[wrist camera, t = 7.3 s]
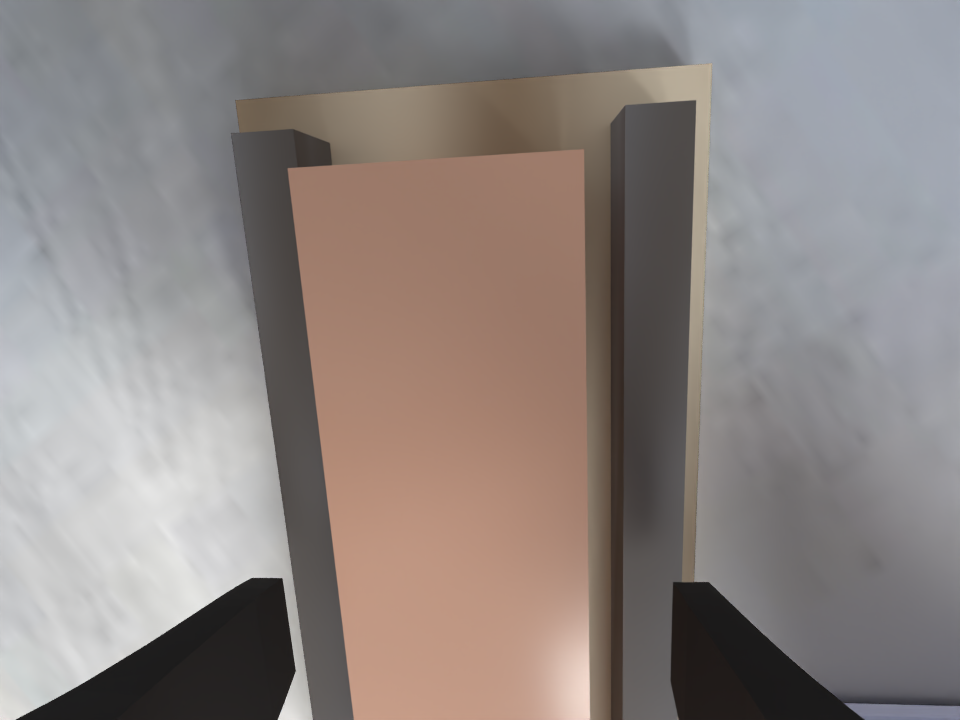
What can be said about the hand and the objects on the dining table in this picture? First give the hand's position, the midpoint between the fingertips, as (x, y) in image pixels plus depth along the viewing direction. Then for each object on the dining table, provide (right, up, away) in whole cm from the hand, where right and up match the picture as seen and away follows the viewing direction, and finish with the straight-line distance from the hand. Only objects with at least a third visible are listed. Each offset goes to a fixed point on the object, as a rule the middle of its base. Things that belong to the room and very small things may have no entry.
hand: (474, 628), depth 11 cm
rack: (0, +1, +5) cm, 5 cm away
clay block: (0, +1, +4) cm, 4 cm away
